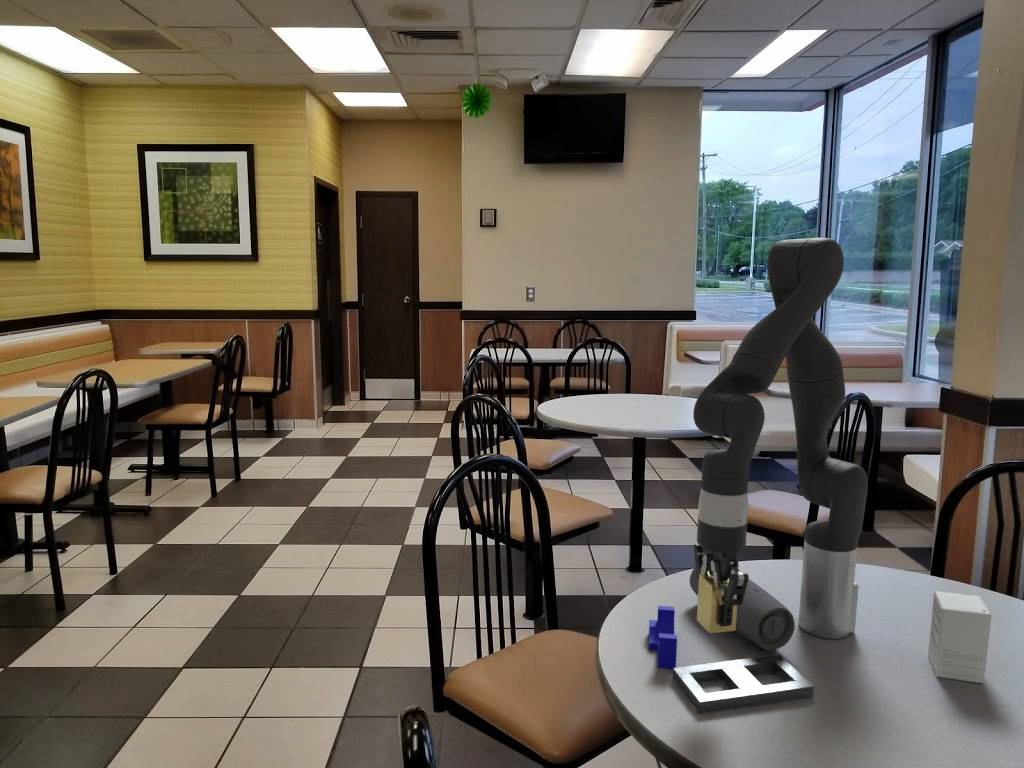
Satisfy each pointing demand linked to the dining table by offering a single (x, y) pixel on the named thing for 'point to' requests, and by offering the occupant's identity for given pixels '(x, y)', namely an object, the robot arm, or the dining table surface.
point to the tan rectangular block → (711, 605)
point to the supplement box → (959, 636)
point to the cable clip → (664, 637)
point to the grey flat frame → (741, 683)
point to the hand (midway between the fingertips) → (716, 617)
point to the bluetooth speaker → (760, 617)
